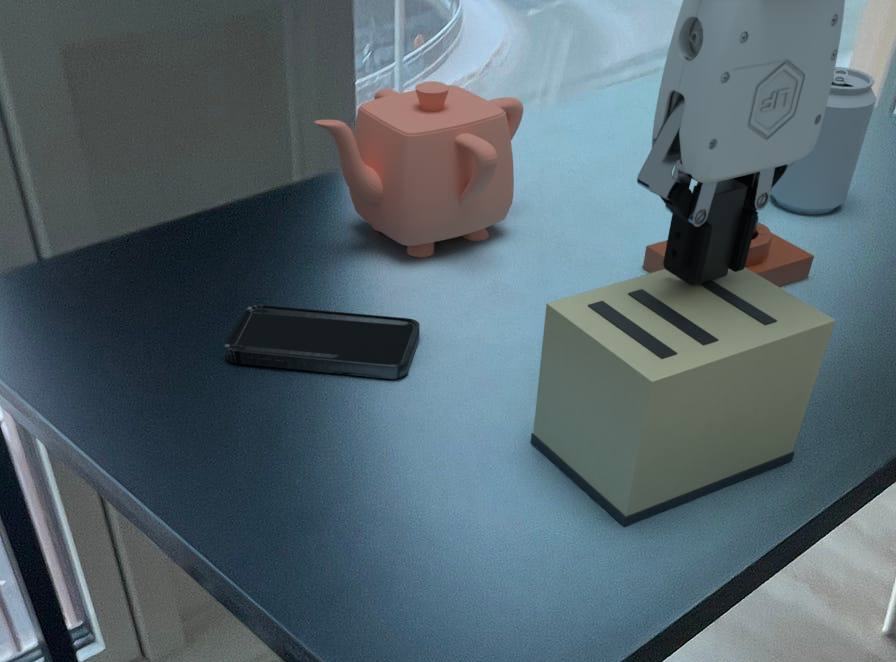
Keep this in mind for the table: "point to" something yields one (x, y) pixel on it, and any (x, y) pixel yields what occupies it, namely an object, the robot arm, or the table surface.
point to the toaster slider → (723, 227)
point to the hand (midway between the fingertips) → (703, 267)
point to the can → (831, 148)
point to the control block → (755, 258)
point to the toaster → (674, 386)
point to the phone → (324, 341)
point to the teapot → (430, 163)
